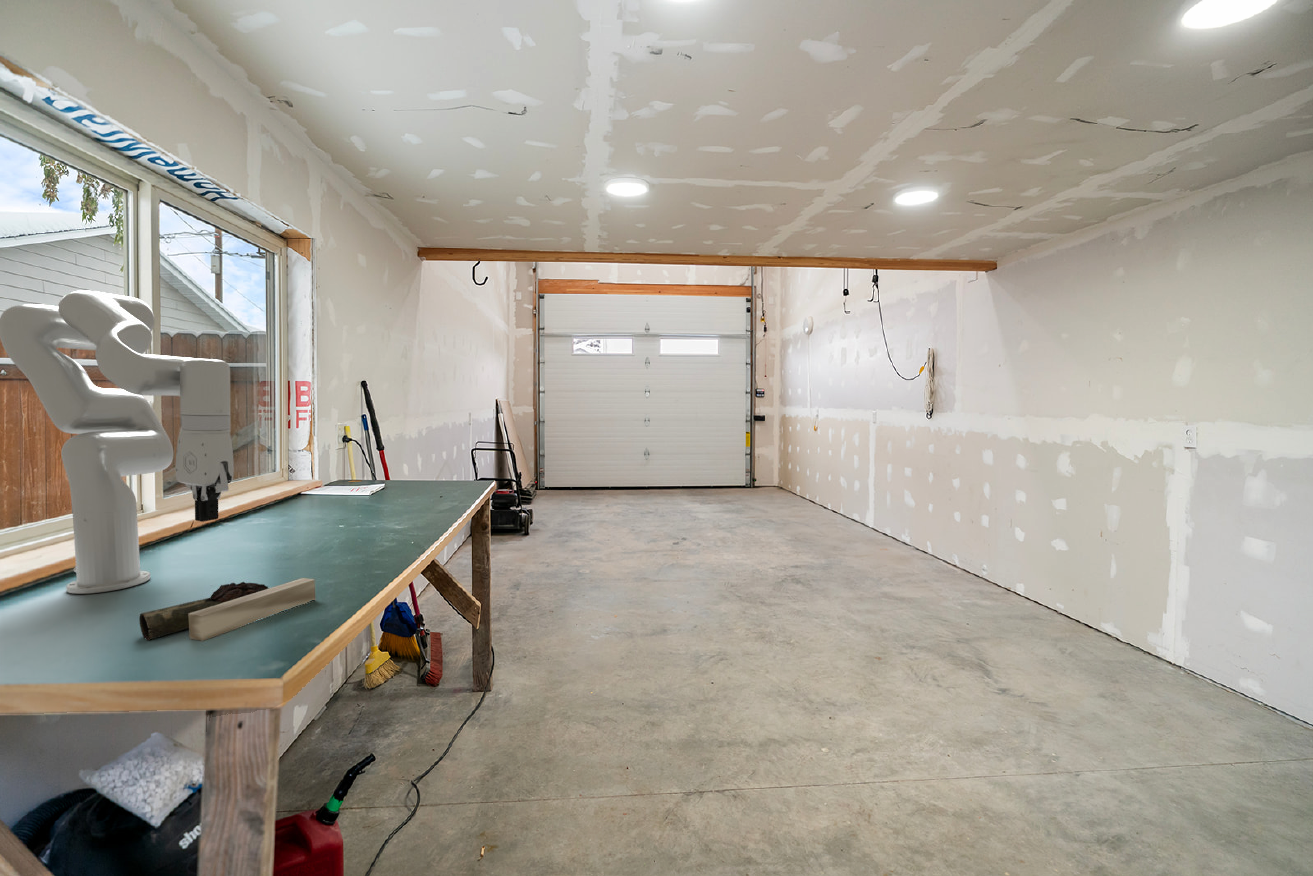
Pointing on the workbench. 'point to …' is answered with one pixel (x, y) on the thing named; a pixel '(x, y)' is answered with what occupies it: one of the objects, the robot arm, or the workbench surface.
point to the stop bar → (249, 608)
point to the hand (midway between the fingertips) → (206, 519)
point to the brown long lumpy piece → (191, 610)
